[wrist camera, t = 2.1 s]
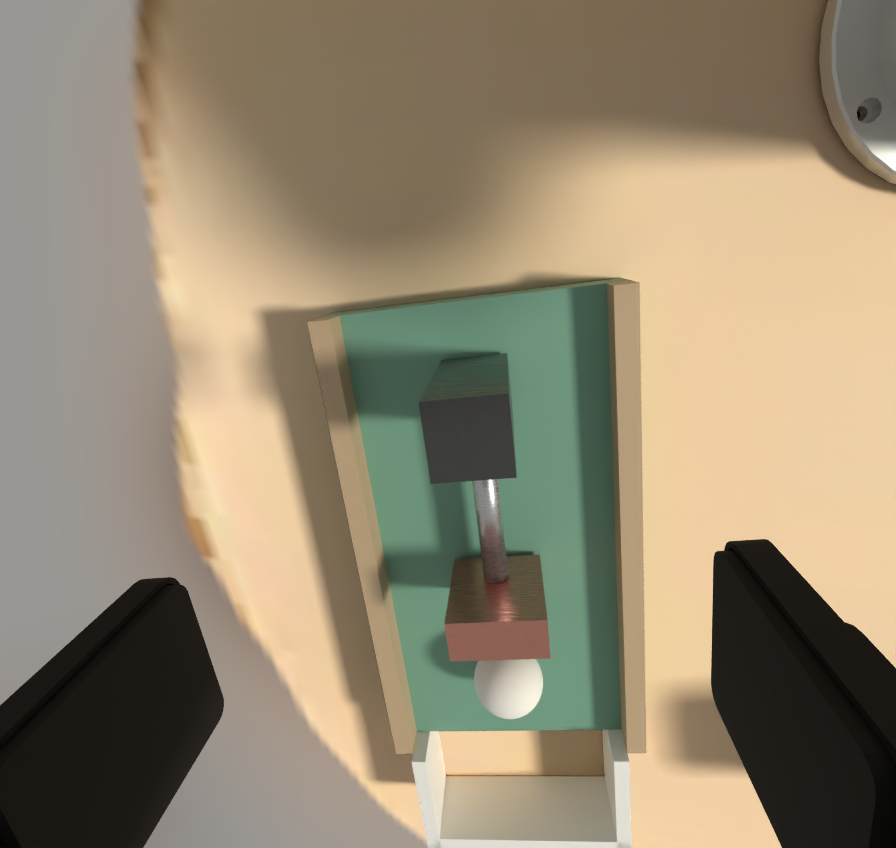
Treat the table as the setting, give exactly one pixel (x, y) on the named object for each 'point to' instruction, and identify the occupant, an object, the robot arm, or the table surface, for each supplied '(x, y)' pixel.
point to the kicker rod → (483, 512)
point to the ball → (508, 686)
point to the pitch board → (522, 499)
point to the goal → (524, 803)
